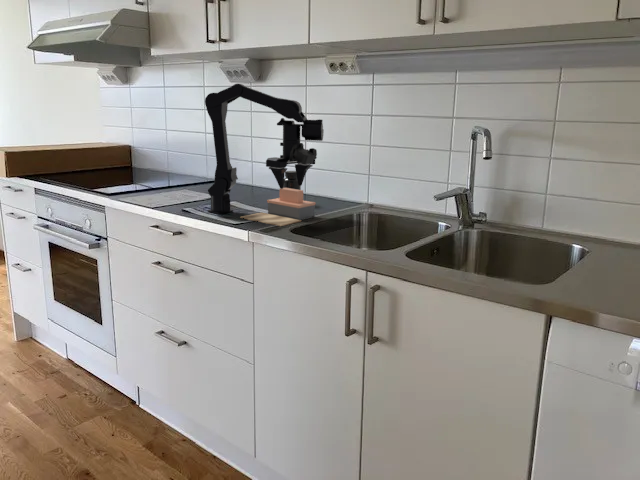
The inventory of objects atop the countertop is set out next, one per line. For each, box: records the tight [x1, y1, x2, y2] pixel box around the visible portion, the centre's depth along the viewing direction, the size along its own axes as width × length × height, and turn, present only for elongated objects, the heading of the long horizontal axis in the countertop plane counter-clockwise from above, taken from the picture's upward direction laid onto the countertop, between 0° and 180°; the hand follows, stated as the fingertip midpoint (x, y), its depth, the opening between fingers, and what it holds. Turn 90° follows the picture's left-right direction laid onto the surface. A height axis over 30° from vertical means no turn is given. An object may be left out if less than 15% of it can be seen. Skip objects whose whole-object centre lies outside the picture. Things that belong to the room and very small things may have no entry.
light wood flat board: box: [239, 212, 303, 227], centre depth 180 cm, size 18×10×1 cm, turn 51°
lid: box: [266, 188, 317, 208], centre depth 186 cm, size 14×8×6 cm, turn 51°
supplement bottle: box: [283, 170, 302, 190], centre depth 208 cm, size 7×7×12 cm
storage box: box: [267, 202, 316, 220], centre depth 187 cm, size 14×8×4 cm, turn 51°
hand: (291, 187), depth 185 cm, fingers open, 9 cm apart
